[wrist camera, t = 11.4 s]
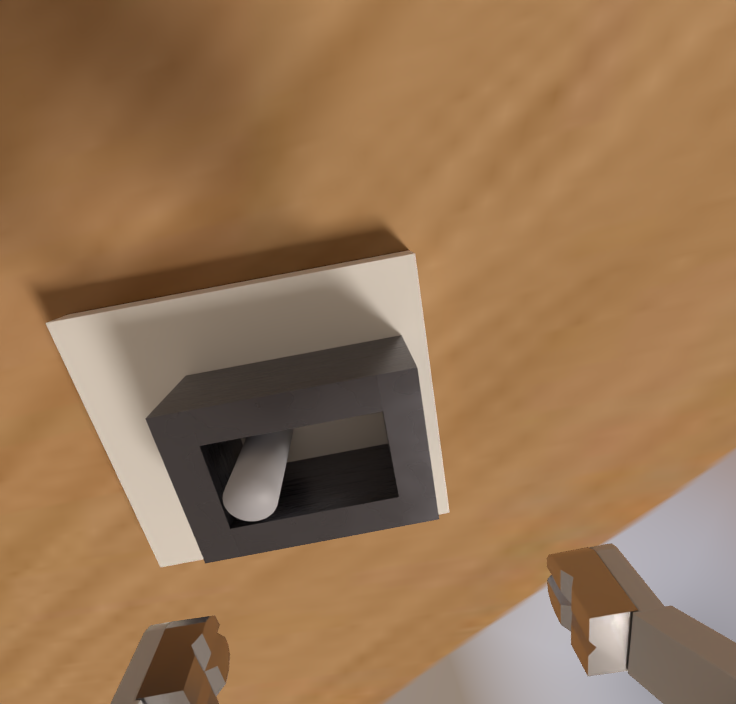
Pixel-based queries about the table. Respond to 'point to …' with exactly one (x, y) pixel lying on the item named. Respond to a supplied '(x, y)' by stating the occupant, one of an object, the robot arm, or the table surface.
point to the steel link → (308, 476)
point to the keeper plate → (234, 348)
